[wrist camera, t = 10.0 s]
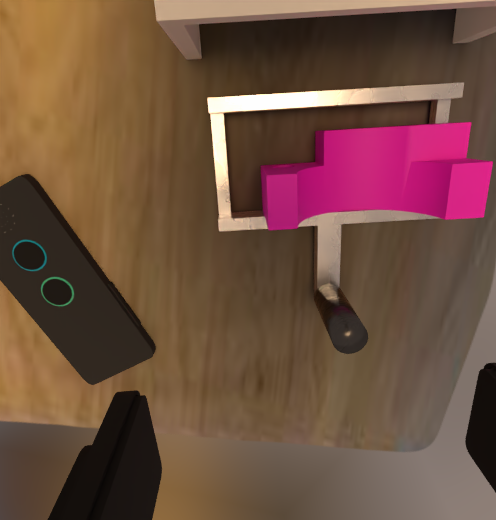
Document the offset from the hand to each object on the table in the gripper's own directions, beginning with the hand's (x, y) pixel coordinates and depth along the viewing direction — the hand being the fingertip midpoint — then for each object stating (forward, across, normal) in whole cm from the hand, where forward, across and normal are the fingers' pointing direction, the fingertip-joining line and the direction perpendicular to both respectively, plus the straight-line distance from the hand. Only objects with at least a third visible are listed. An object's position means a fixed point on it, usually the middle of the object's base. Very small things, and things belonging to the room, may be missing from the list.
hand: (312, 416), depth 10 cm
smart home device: (+24, +19, +6) cm, 31 cm away
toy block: (+24, -8, -3) cm, 25 cm away
